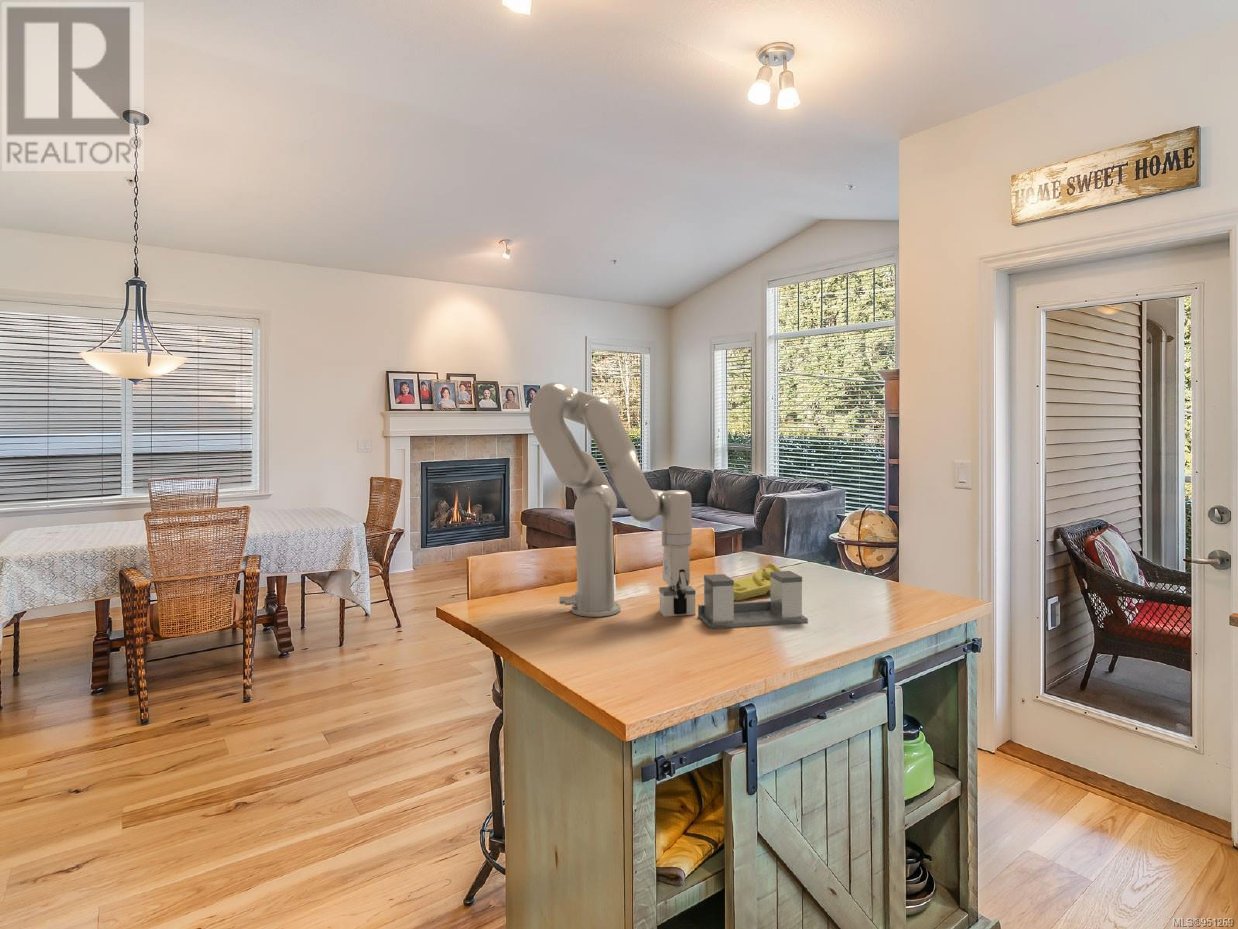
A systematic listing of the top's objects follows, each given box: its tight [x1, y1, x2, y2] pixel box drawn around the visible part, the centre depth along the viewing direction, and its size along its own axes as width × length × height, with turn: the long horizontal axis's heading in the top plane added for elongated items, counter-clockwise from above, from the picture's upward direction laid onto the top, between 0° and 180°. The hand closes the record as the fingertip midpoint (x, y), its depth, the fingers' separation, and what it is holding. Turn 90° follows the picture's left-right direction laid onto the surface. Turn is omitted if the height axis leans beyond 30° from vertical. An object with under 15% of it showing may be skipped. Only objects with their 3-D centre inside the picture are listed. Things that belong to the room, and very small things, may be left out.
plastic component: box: [733, 562, 782, 601], centre depth 186 cm, size 20×7×10 cm
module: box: [658, 585, 696, 617], centre depth 167 cm, size 8×5×6 cm, turn 99°
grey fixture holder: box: [697, 570, 809, 630], centre depth 160 cm, size 24×10×11 cm, turn 99°
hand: (677, 610), depth 167 cm, fingers closed on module, 5 cm apart
